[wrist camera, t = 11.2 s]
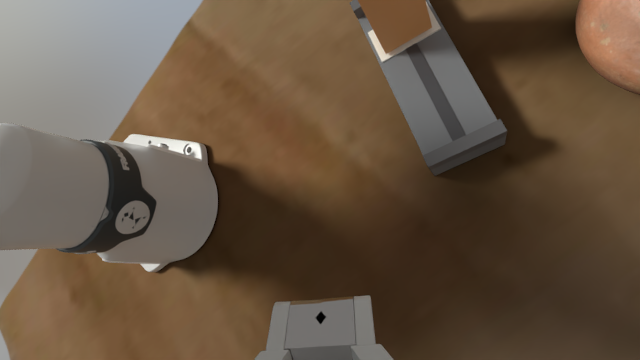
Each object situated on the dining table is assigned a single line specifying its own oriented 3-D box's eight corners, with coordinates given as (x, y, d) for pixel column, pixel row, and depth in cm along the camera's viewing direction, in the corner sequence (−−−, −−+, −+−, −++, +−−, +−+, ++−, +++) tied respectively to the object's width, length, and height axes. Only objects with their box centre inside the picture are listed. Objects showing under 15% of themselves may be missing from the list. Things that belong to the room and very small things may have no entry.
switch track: (504, 144, 34) (507, 130, 30) (434, 176, 36) (428, 167, 32) (417, -9, 41) (410, -38, 37) (362, 25, 43) (349, 2, 39)
